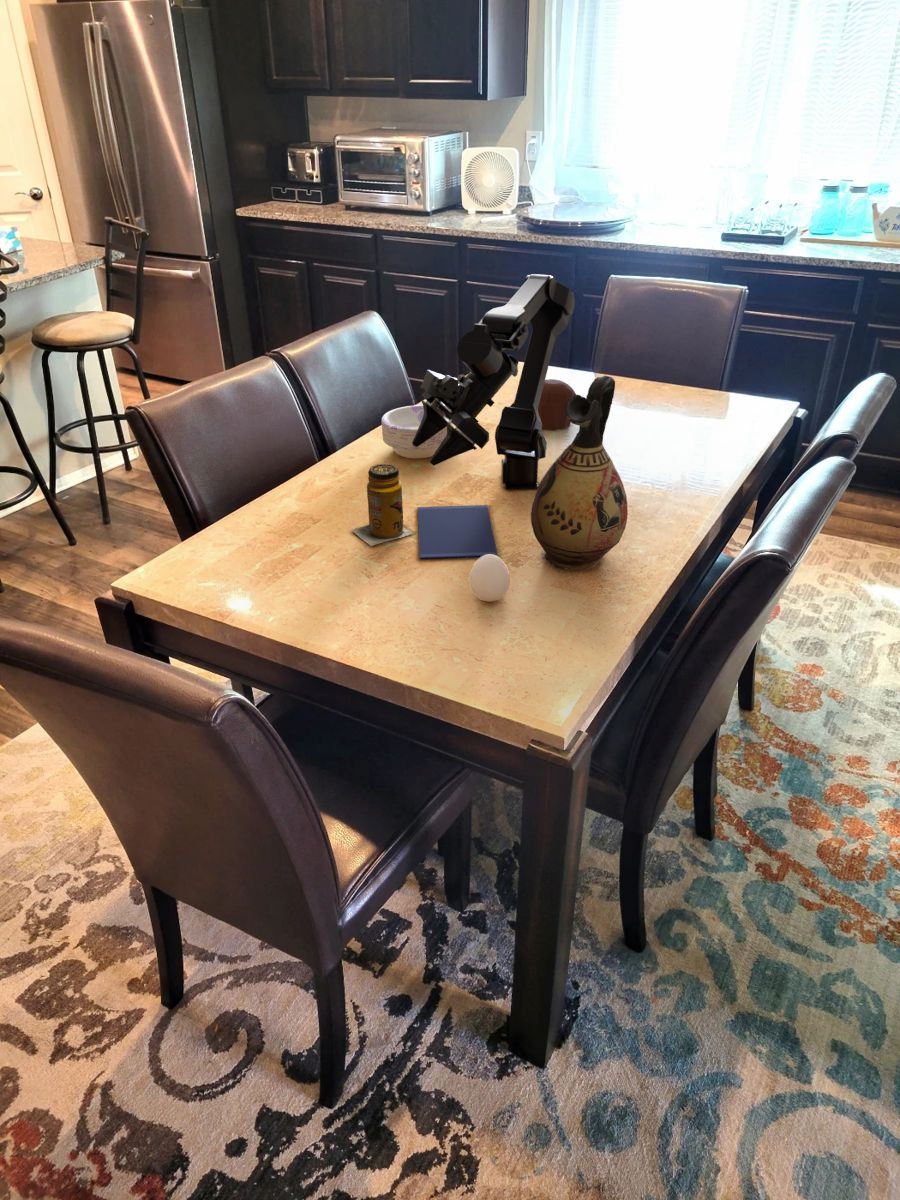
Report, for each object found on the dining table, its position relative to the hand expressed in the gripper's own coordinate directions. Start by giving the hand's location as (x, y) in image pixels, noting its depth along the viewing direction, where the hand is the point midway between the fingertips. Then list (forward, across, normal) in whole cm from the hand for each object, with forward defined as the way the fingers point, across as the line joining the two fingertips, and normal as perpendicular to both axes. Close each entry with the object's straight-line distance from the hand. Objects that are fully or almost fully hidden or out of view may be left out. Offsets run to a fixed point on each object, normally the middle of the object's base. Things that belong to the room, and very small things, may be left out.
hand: (422, 454), depth 146 cm
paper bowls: (+2, -35, +17) cm, 39 cm away
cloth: (+7, +5, +12) cm, 15 cm away
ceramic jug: (-4, +21, +24) cm, 32 cm away
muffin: (-22, -40, +41) cm, 61 cm away
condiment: (+15, 0, +4) cm, 16 cm away
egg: (+9, +28, +10) cm, 31 cm away
